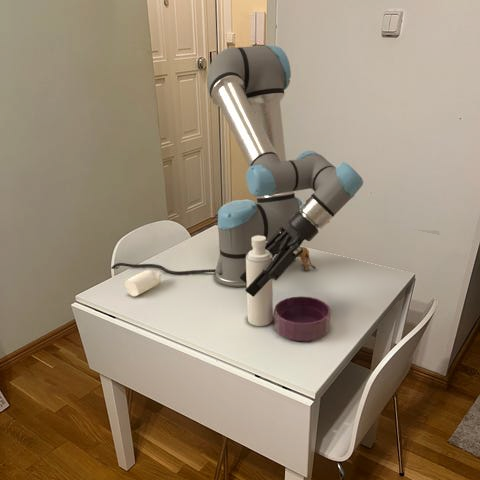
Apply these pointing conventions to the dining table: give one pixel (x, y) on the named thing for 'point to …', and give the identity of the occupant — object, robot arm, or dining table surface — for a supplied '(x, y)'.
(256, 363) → the dining table surface
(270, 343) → the dining table surface
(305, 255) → the lion figurine
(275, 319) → the bowl
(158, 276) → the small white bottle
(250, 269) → the spray bottle
